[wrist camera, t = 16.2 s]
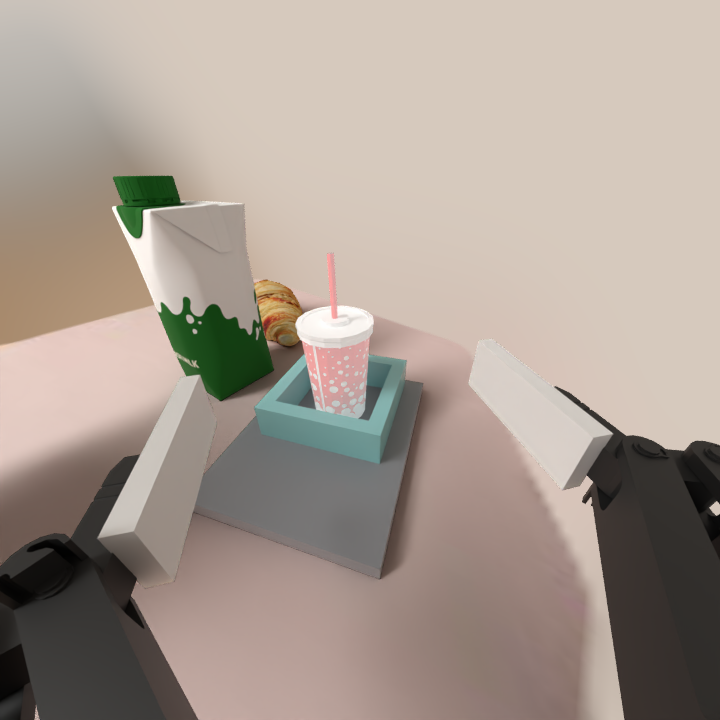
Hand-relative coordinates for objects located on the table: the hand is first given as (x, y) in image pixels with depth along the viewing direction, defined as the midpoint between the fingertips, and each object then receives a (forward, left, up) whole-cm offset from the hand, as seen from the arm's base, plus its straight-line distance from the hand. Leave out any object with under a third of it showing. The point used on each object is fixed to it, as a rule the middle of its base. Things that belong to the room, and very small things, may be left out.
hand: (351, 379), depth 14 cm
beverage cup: (+9, +4, -10) cm, 14 cm away
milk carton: (+12, +20, -12) cm, 26 cm away
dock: (+6, +5, -11) cm, 13 cm away
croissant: (+25, +23, -12) cm, 36 cm away
